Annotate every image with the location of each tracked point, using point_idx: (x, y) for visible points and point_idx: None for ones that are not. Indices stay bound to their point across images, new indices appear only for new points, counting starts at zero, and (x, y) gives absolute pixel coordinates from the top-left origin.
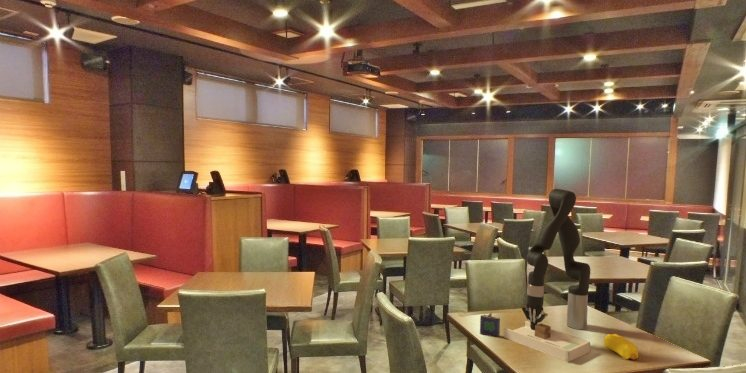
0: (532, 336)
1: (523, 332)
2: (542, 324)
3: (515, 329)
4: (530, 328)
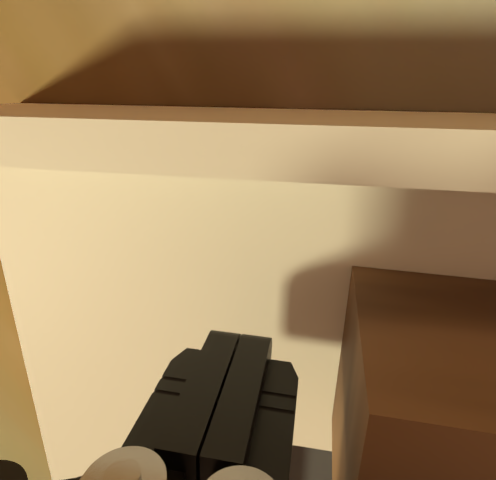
0: (321, 449)
1: None
2: (448, 470)
3: (32, 381)
4: (95, 176)
